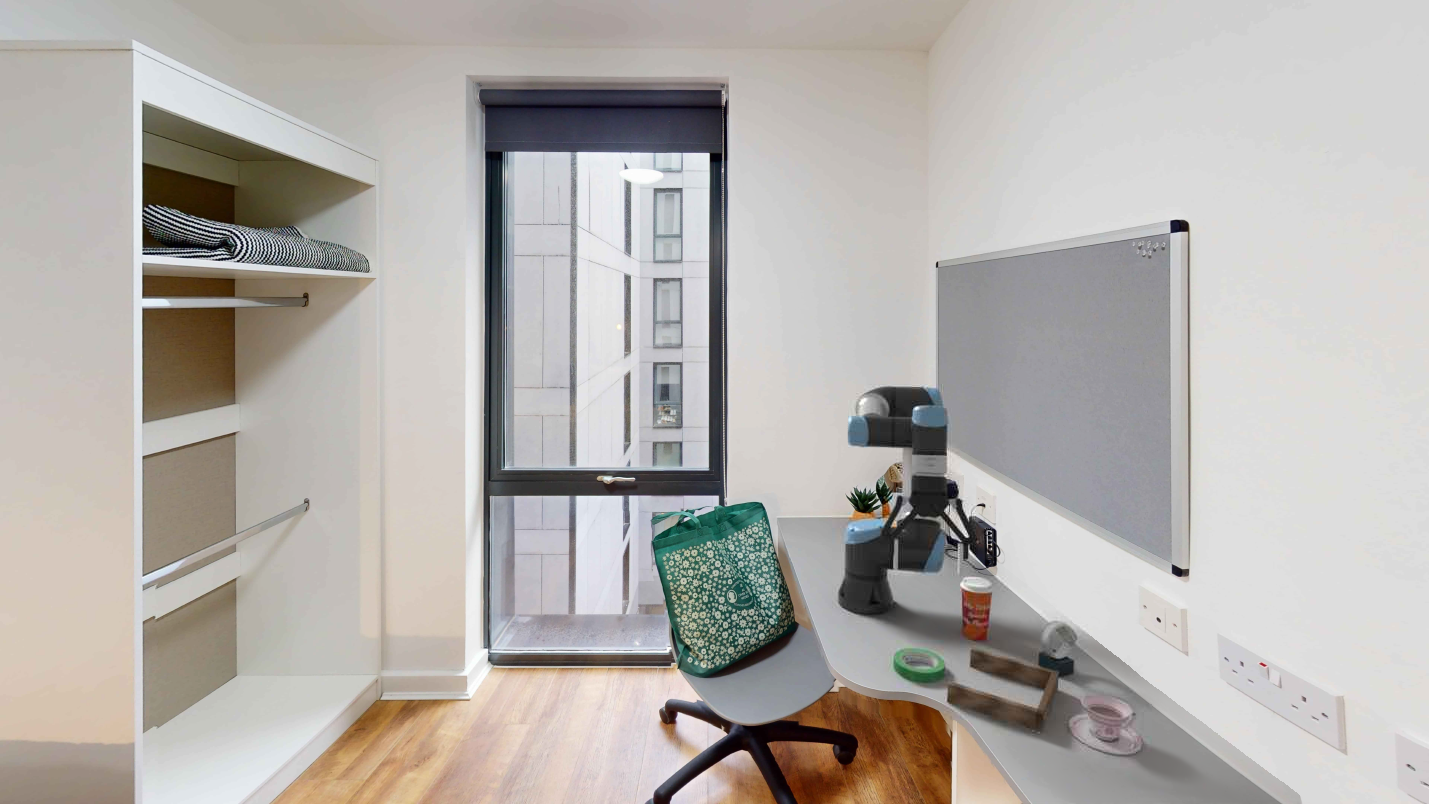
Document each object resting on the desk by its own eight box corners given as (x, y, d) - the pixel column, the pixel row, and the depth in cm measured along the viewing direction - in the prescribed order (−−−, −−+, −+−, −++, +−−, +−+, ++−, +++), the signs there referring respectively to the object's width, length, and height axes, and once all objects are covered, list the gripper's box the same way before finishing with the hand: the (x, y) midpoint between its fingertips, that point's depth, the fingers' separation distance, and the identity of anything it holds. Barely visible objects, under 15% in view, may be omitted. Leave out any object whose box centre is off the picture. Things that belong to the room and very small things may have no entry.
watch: (1080, 672, 144) (1083, 625, 142) (1052, 679, 141) (1055, 631, 140) (1058, 660, 149) (1061, 614, 148) (1032, 666, 146) (1034, 620, 145)
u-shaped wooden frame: (947, 701, 133) (947, 683, 132) (971, 664, 147) (972, 647, 147) (1041, 733, 122) (1042, 713, 122) (1057, 689, 137) (1058, 671, 136)
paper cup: (960, 640, 158) (962, 586, 156) (956, 626, 166) (958, 574, 164) (994, 644, 156) (997, 589, 155) (989, 630, 164) (991, 577, 162)
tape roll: (922, 654, 152) (922, 643, 152) (955, 678, 142) (956, 666, 142) (883, 663, 148) (883, 652, 148) (914, 688, 138) (915, 676, 138)
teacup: (1077, 750, 118) (1079, 718, 117) (1061, 712, 129) (1063, 683, 128) (1152, 761, 114) (1155, 729, 114) (1128, 721, 126) (1131, 692, 125)
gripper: (871, 472, 142) (869, 569, 141) (992, 478, 137) (991, 579, 135) (871, 472, 150) (869, 564, 148) (985, 477, 144) (985, 573, 142)
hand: (927, 572), depth 142 cm, fingers open, 13 cm apart
